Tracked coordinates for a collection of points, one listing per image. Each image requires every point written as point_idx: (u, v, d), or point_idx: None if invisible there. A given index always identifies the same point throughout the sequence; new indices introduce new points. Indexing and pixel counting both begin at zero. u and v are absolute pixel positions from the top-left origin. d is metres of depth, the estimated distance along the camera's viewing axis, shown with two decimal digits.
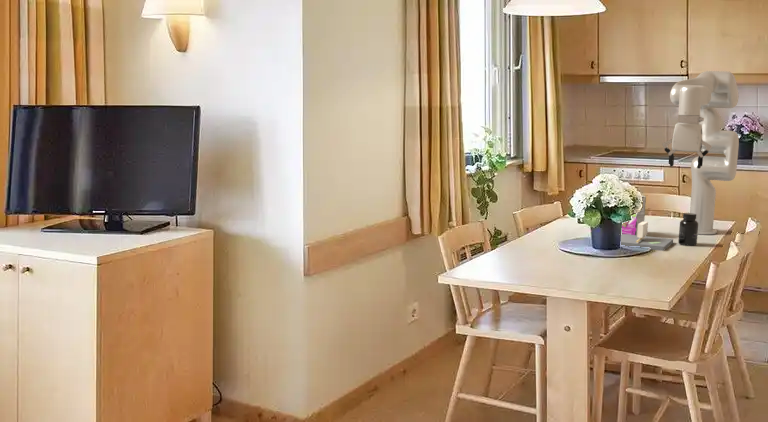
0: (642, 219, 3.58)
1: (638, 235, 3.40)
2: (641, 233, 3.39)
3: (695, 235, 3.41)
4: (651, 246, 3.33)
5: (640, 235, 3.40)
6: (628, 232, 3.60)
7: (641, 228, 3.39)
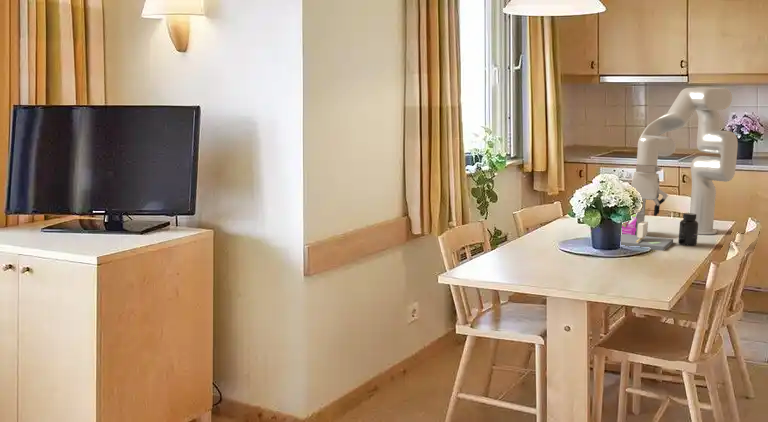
0: (642, 219, 3.58)
1: (638, 235, 3.40)
2: (641, 233, 3.39)
3: (695, 235, 3.41)
4: (651, 246, 3.33)
5: (640, 235, 3.40)
6: (628, 232, 3.60)
7: (641, 228, 3.39)
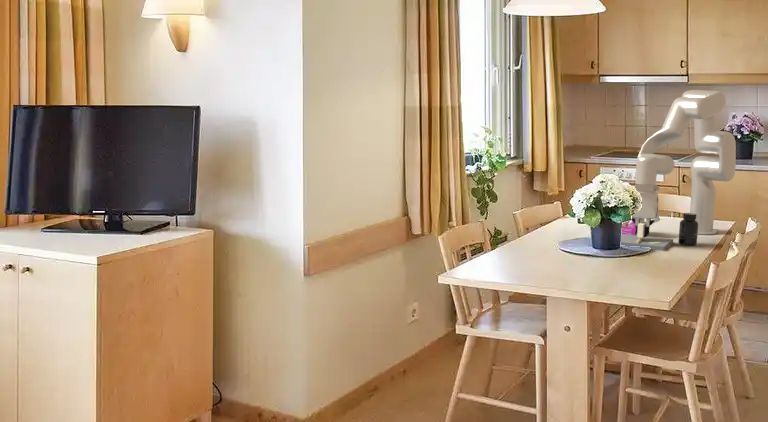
0: (642, 219, 3.58)
1: (638, 235, 3.40)
2: (641, 233, 3.39)
3: (695, 235, 3.41)
4: (651, 246, 3.33)
5: (640, 235, 3.40)
6: (628, 232, 3.60)
7: (641, 228, 3.39)
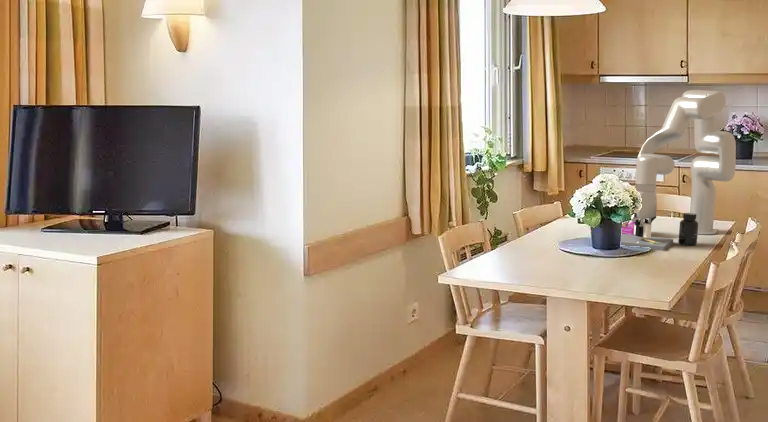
0: None
1: (647, 236, 3.39)
2: (649, 233, 3.40)
3: (695, 235, 3.41)
4: (651, 246, 3.33)
5: (649, 235, 3.40)
6: (628, 232, 3.60)
7: (650, 228, 3.39)
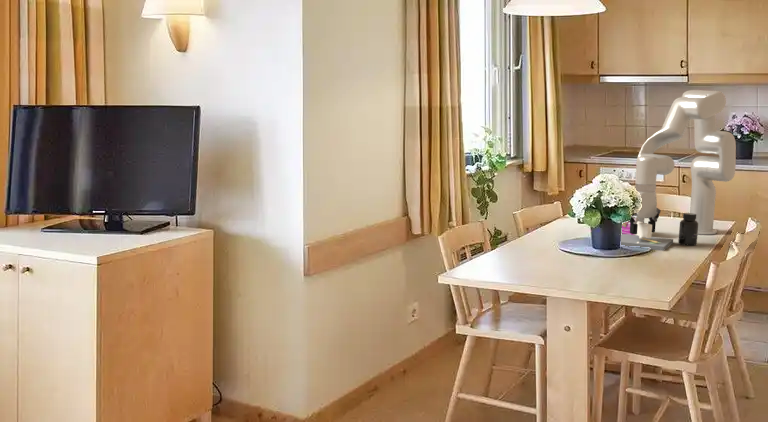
0: (642, 219, 3.58)
1: (648, 235, 3.39)
2: (650, 233, 3.40)
3: (695, 235, 3.41)
4: (651, 246, 3.33)
5: (649, 235, 3.40)
6: (628, 232, 3.60)
7: (650, 228, 3.39)
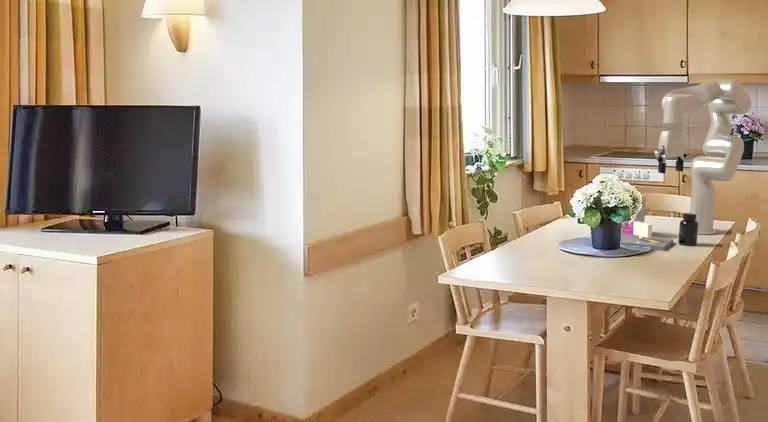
0: (642, 219, 3.58)
1: (648, 235, 3.39)
2: (650, 233, 3.40)
3: (695, 235, 3.41)
4: (651, 246, 3.33)
5: (650, 235, 3.40)
6: (628, 232, 3.60)
7: (650, 228, 3.39)
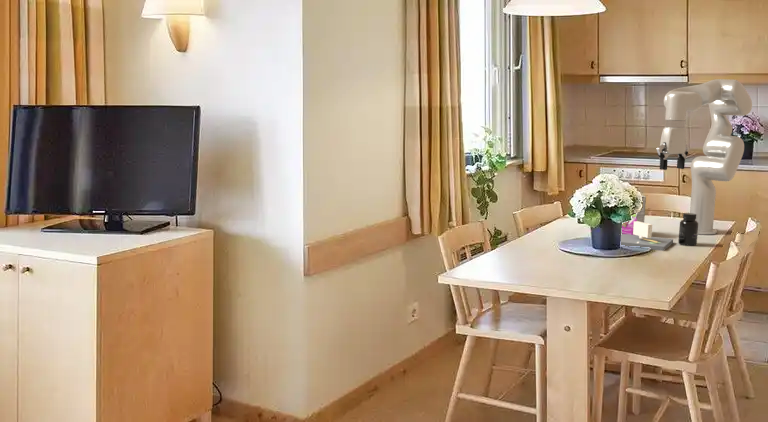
0: (642, 219, 3.58)
1: (648, 235, 3.39)
2: (650, 233, 3.40)
3: (695, 235, 3.41)
4: (651, 246, 3.33)
5: (650, 235, 3.40)
6: (628, 232, 3.60)
7: (650, 228, 3.39)
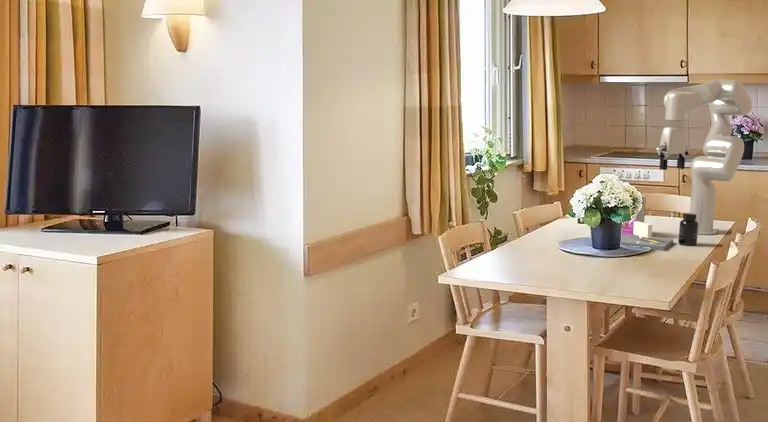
0: (642, 219, 3.58)
1: (648, 235, 3.39)
2: (650, 233, 3.40)
3: (695, 235, 3.41)
4: (651, 246, 3.33)
5: (650, 235, 3.40)
6: (628, 232, 3.60)
7: (650, 228, 3.39)
